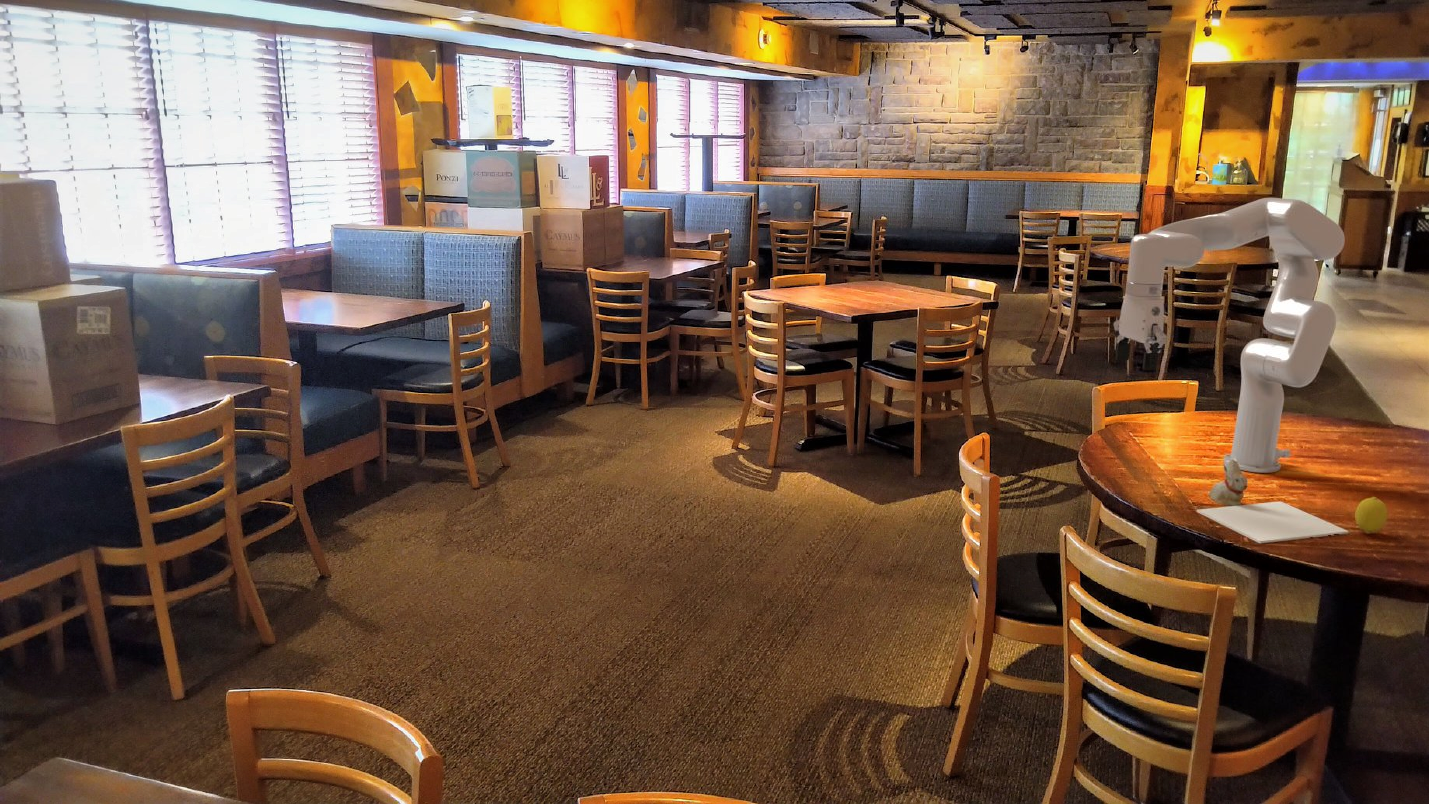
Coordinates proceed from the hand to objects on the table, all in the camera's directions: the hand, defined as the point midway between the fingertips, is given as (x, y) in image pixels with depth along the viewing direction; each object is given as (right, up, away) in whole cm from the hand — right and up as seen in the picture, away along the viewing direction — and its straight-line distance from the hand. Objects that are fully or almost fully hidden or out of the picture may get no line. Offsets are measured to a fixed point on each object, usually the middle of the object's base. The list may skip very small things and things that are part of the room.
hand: (1135, 365), depth 235 cm
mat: (+21, -34, -17) cm, 44 cm away
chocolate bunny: (+18, -31, -5) cm, 36 cm away
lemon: (+39, -36, -23) cm, 57 cm away
